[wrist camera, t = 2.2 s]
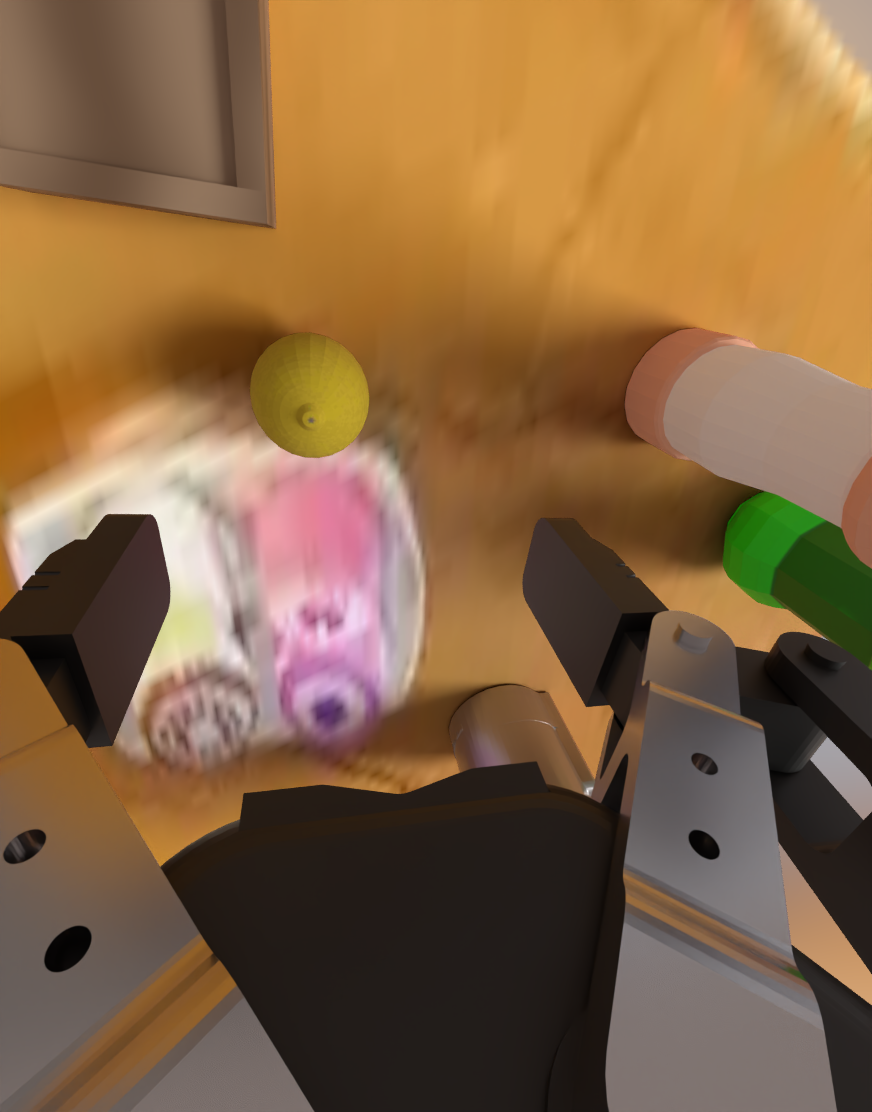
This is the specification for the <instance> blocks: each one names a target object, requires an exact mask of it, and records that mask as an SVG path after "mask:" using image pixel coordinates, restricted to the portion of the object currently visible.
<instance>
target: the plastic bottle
mask: <svg viewBox="0 0 872 1112" xmlns="http://www.w3.org/2000/svg"><path fill="white" fill-rule="evenodd" d="M723 567H724V569H725V571H726V573H727V576H728V577H729V578H730V579H731V580H732V581H733V582H734V583H735V584H737V585H738V586H739V587H740V588H741V589H742V590H743V591H744V592H745V593H746V594H748V595H749V596H750V597H752V598H753V599H754V600H755V601H757V602H758V603H761V604H765V605H768V606H771V607H776V608H783V609H788V610H789V611H791V612H792V613H793V614H795V615H796V616H797V617H798V618H800V619H801V620H802V621H804V622H805V623H806V624H808V625H809V626H810V627H812V628H813V629H814V630H816V631H817V632H818V633H819V634H821V635H822V636H823V637H825V638H826V639H827V640H829V641H830V642H832V643H834V644H836V645H838V646H840V647H841V648H843V649H845V650H846V651H848V652H849V653H851V654H852V655H853V656H855V657H856V658H857V659H858V660H860V661H861V662H862V663H863V664H865V665H866V666H867V667H868V668H869V669H871V670H872V569H871V568H870V567H868V566H867V565H866V564H864V563H863V562H862V561H860V560H859V558H858V557H857V556H856V555H855V554H854V553H853V551H852V550H851V549H850V547H849V545H848V543H847V542H846V539H845V536H844V533H843V530H842V528H840V527H838V526H836V525H835V524H833V523H831V522H829V521H827V520H825V519H823V518H821V517H819V516H817V515H815V514H813V513H811V512H809V511H808V510H806V509H804V508H802V507H800V506H798V505H796V504H794V503H792V502H790V501H788V500H786V499H784V498H782V497H781V496H779V495H776V494H773V493H770V492H766V491H764V492H762V493H758V494H757V495H755V496H753V497H752V498H750V499H748V500H747V501H745V502H744V503H742V504H740V506H739V507H738V509H737V510H736V511H735V513H734V514H733V516H732V517H731V518H730V520H729V521H728V523H727V530H726V532H725V542H724V552H723Z"/></svg>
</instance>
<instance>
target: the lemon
mask: <svg viewBox="0 0 872 1112" xmlns="http://www.w3.org/2000/svg"><path fill="white" fill-rule="evenodd" d="M250 397H251V404H252V409H253V411H254V414H255V416H256V419H257V421H258V423H259V425H260V426H261V428H262V429H263V431H264V432H265V433H266V435H267V436H268V437H269V438H270V439H271V440H272V441H273V442H274V443H276V444H277V445H278V446H279V447H280V448H282V449H284V450H286V451H288V452H290V453H292V454H295V455H299V456H302V457H309V458H320V457H325V456H330V455H333V454H335V453H337V452H339V451H341V450H343V449H344V448H346V447H347V446H348V445H349V444H350V443H352V442H353V441H354V440H355V438H356V437H357V435H358V434H359V433H360V431H361V430H362V428H363V425H364V423H365V420H366V417H367V415H368V407H369V391H368V384H367V380H366V378H365V375H364V373H363V370H362V368H361V366H360V365H359V363H358V362H357V360H356V359H355V358H354V356H353V355H352V354H351V353H350V352H349V351H348V350H347V349H346V348H345V347H343V346H342V345H341V344H340V343H338V342H336V341H334V340H332V339H330V338H328V337H326V336H323V335H319V334H315V333H295V334H291V335H288V336H285V337H282V338H280V339H279V340H277V341H276V342H274V343H273V344H271V345H270V346H268V347H267V349H266V350H265V351H264V352H263V353H262V355H261V356H260V357H259V358H258V360H257V363H256V365H255V367H254V370H253V372H252V376H251V384H250Z"/></svg>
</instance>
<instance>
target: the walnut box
mask: <svg viewBox="0 0 872 1112" xmlns="http://www.w3.org/2000/svg"><path fill="white" fill-rule="evenodd" d="M0 186H3V187H8V188H13V189H18V190H23V191H28V192H34V193H41V194H47V195H54V196H61V197H67V198H74V199H81V200H87V201H94V202H101V203H107V204H114V205H121V206H127V207H134V208H141V209H147V210H154V211H161V212H167V213H174V214H181V215H187V216H194V217H201V218H207V219H214V220H221V221H227V222H234V223H241V224H247V225H254V226H261V227H267V228H274V229H276V208H275V179H274V149H273V120H272V91H271V62H270V32H269V3H268V0H0Z"/></svg>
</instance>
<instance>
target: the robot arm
mask: <svg viewBox="0 0 872 1112" xmlns="http://www.w3.org/2000/svg"><path fill="white" fill-rule="evenodd" d="M523 593H524V597H525V600H526V602H527V604H528V606H529V607H530V609H531V611H532V613H533V614H534V616H535V618H536V620H537V621H538V623H539V625H540V627H541V628H542V630H543V632H544V634H545V635H546V637H547V639H548V641H549V643H550V644H551V646H552V648H553V650H554V651H555V653H556V655H557V657H558V658H559V660H560V662H561V664H562V665H563V667H564V669H565V671H566V672H567V674H568V676H569V678H570V679H571V681H572V683H573V685H574V686H575V688H576V690H577V692H578V694H579V695H580V697H581V699H582V701H583V702H584V704H585V706H586V707H592V706H603V705H610V706H611V708H612V710H613V713H612V715H611V718H610V720H609V723H608V726H607V730H606V735H605V739H604V743H603V748H602V752H601V757H600V761H599V765H598V770H597V774H596V778H595V779H594V777H593V775H592V773H591V771H590V769H589V768H588V766H587V764H586V762H585V760H584V758H583V756H582V754H581V752H580V751H579V749H578V747H577V745H576V743H575V741H574V739H573V737H572V735H571V734H570V732H569V730H568V728H567V726H566V724H565V722H564V720H563V718H562V717H561V715H560V713H559V711H558V709H557V707H556V705H555V703H554V701H553V700H552V698H551V696H550V694H549V693H548V692H546V693H537V692H535V691H533V690H531V689H530V688H527V687H523V686H518V685H505V686H498V687H494V688H490V689H487V690H485V691H482V692H480V693H478V694H476V695H475V696H473V697H471V698H469V699H468V700H467V701H466V702H465V703H463V704H462V705H461V706H460V707H459V709H458V710H457V711H456V712H455V714H454V715H453V717H452V719H451V722H450V726H449V735H450V739H451V742H452V746H453V751H454V755H455V758H456V760H457V764H458V767H459V771H460V773H458V774H456V775H453V776H450V777H448V778H445V779H443V780H440V781H437V782H435V783H432V784H430V785H427V786H424V787H422V788H419V789H417V790H414V791H411V792H408V793H404V794H392V793H384V792H376V791H369V790H361V789H353V788H345V787H337V786H329V785H316V786H307V787H298V788H288V789H279V790H270V791H261V792H252V793H244V795H243V802H242V810H241V817H240V820H237V821H235V822H232V823H229V824H227V825H225V826H223V827H221V828H218V829H216V830H214V831H212V832H210V833H208V834H206V835H205V836H203V837H201V838H200V839H198V840H196V841H195V842H193V843H191V844H190V845H188V846H187V847H185V848H184V849H182V850H181V851H180V852H178V853H177V854H176V855H174V856H173V857H172V858H170V859H169V860H168V861H166V862H165V863H164V864H163V865H162V866H161V867H160V866H159V864H158V863H157V861H156V859H155V858H154V856H153V855H152V853H151V851H150V850H149V848H148V846H147V845H146V843H145V841H144V840H143V838H142V836H141V835H140V833H139V831H138V830H137V828H136V826H135V825H134V823H133V821H132V820H131V818H130V816H129V815H128V813H127V811H126V810H125V808H124V806H123V805H122V803H121V801H120V800H119V798H118V797H117V795H116V793H115V792H114V790H113V788H112V787H111V785H110V783H109V782H108V780H107V778H106V777H105V775H104V773H103V772H102V770H101V768H100V767H99V765H98V763H97V762H96V760H95V758H94V757H93V755H92V753H91V752H90V750H89V748H93V747H104V746H112V745H113V743H114V740H115V738H116V735H117V733H118V731H119V728H120V726H121V723H122V721H123V719H124V716H125V714H126V711H127V709H128V706H129V704H130V702H131V699H132V697H133V694H134V692H135V690H136V687H137V685H138V682H139V680H140V677H141V675H142V673H143V670H144V668H145V665H146V663H147V661H148V658H149V656H150V653H151V651H152V648H153V646H154V644H155V641H156V639H157V636H158V634H159V632H160V629H161V627H162V624H163V622H164V619H165V617H166V615H167V612H168V609H169V604H170V582H169V576H168V572H167V567H166V562H165V557H164V552H163V548H162V543H161V538H160V533H159V529H158V525H157V522H156V519H155V518H154V516H153V515H151V514H107V515H105V516H104V518H103V519H102V520H101V521H100V523H99V524H98V525H97V526H96V528H95V529H94V530H93V532H92V533H91V534H90V535H89V537H88V538H87V539H86V540H74V541H72V542H71V543H69V544H67V545H65V546H64V547H62V548H60V549H58V550H57V551H55V552H53V553H52V554H50V555H49V556H48V557H47V558H46V560H45V561H44V562H43V563H42V564H41V565H40V567H39V568H38V569H37V570H36V571H35V575H32V576H31V577H30V578H29V579H28V580H27V582H26V583H25V584H24V585H23V586H22V590H19V591H18V592H17V593H16V594H15V595H14V597H13V598H12V599H11V600H10V601H9V602H8V604H7V605H6V606H5V607H4V608H3V609H2V611H1V612H0V1112H872V1005H870V1004H869V1003H868V1002H866V1001H865V1000H864V999H863V998H861V997H860V996H858V995H857V994H856V993H855V992H853V991H852V990H851V989H849V988H848V987H847V986H845V985H844V984H843V983H841V982H840V981H839V980H838V979H836V978H835V977H834V976H832V975H831V974H830V973H828V972H827V971H826V970H824V969H823V968H822V967H820V966H819V965H818V964H816V963H815V962H814V961H812V960H811V959H810V958H808V957H807V956H806V955H805V954H803V953H802V952H801V951H799V950H798V949H797V948H795V947H794V946H793V945H791V939H790V931H789V923H788V916H787V907H786V899H785V891H784V884H783V876H782V868H781V860H780V852H779V844H778V842H779V843H780V845H781V846H782V847H783V849H784V850H785V852H786V853H787V854H788V856H789V857H790V859H791V860H792V862H793V863H794V865H795V866H796V867H797V869H798V870H799V872H800V873H801V874H802V876H803V877H804V879H805V880H806V882H807V883H808V884H809V886H810V887H811V889H812V890H813V891H814V893H815V894H816V896H817V897H818V899H819V900H820V901H821V903H822V904H823V906H824V907H825V908H826V910H827V911H828V913H829V914H830V916H831V917H832V918H833V920H834V921H835V923H836V924H837V925H838V927H839V928H840V930H841V931H842V933H843V934H844V935H845V937H846V938H847V940H848V941H849V942H850V944H851V945H852V947H853V948H854V949H855V951H856V952H857V954H858V955H859V957H860V958H861V959H862V961H863V962H864V964H865V965H866V967H867V968H868V969H869V971H870V972H871V974H872V812H871V813H870V814H869V815H868V816H867V817H866V818H865V819H864V820H863V819H862V818H861V817H860V816H859V815H858V814H857V813H856V812H855V810H854V809H853V808H852V807H851V806H850V804H849V803H847V801H846V800H845V799H844V798H843V797H842V795H841V794H840V793H839V792H838V791H837V790H836V789H835V788H834V786H833V785H832V784H831V783H830V782H829V781H828V779H827V778H826V777H825V776H824V775H823V774H822V773H821V772H820V771H819V769H818V768H817V767H816V766H815V765H814V764H813V762H812V761H811V760H810V758H811V757H812V755H813V754H814V753H815V752H816V751H817V749H818V748H819V747H820V746H821V744H822V743H823V742H824V740H825V739H826V738H827V737H828V738H829V739H830V740H831V741H832V742H833V743H834V744H835V745H836V746H837V747H838V748H839V749H840V750H841V751H842V752H843V753H844V754H845V755H846V756H847V757H848V759H850V761H851V762H852V763H853V764H854V765H855V766H856V767H857V768H858V769H859V770H860V771H861V772H862V773H863V774H864V775H865V776H866V778H867V779H868V781H869V782H870V784H871V786H872V670H871V669H869V668H868V667H867V666H866V665H865V664H863V663H862V662H861V661H860V660H858V659H857V658H856V657H855V656H853V655H852V654H851V653H849V652H848V651H846V650H845V649H843V648H841V647H840V646H838V645H836V644H834V643H832V642H830V641H828V640H825V639H823V638H820V637H817V636H814V635H810V634H806V633H801V632H787V633H783V634H782V635H780V636H779V638H778V639H777V641H776V643H775V644H774V646H773V647H772V649H771V651H770V652H763V651H758V650H752V649H746V648H741V647H735V645H734V643H733V641H732V640H731V638H730V637H729V636H728V635H727V634H726V633H725V632H724V631H723V630H722V629H720V628H719V627H718V626H716V625H715V624H713V623H711V622H710V621H708V620H706V619H704V618H702V617H699V616H696V615H694V614H690V613H687V612H682V611H669V610H668V609H667V608H666V606H665V605H664V604H663V603H662V602H661V601H660V600H659V599H658V598H657V597H656V596H655V595H654V594H653V593H652V592H651V591H650V589H649V588H648V587H647V586H646V585H645V584H644V583H643V582H642V581H641V580H640V579H639V578H636V577H635V574H634V572H633V571H632V570H631V569H630V568H629V567H628V566H625V563H624V562H623V561H622V560H621V559H620V558H619V557H618V555H617V554H616V553H615V552H614V551H613V550H611V549H610V548H608V547H606V546H605V545H603V544H601V543H600V542H598V541H596V540H595V539H592V538H591V537H590V536H589V535H588V533H587V532H586V531H585V530H584V529H583V528H582V527H581V526H580V525H579V524H578V522H577V521H576V520H574V519H573V518H541V519H539V520H538V522H537V523H536V525H535V528H534V532H533V537H532V541H531V545H530V549H529V553H528V557H527V561H526V566H525V570H524V574H523Z"/></svg>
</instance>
